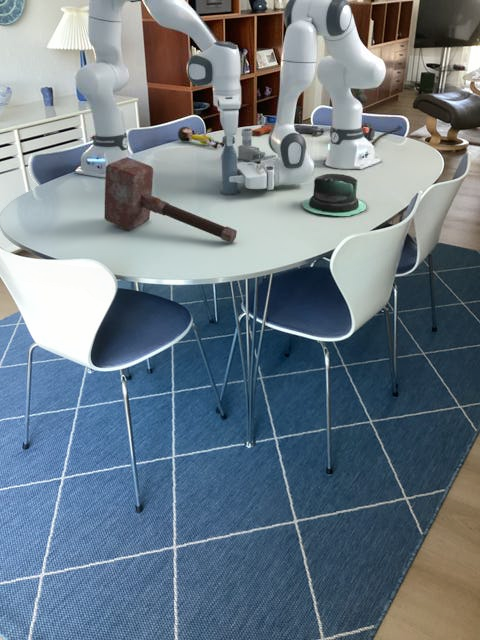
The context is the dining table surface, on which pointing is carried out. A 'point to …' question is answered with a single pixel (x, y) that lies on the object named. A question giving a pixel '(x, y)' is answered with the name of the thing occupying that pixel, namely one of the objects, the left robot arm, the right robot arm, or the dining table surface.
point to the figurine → (197, 137)
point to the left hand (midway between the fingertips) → (228, 143)
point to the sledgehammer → (146, 200)
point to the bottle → (229, 169)
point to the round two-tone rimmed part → (334, 196)
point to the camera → (250, 149)
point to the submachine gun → (298, 128)
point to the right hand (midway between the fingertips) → (227, 176)
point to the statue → (359, 95)
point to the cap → (226, 139)
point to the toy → (369, 131)
